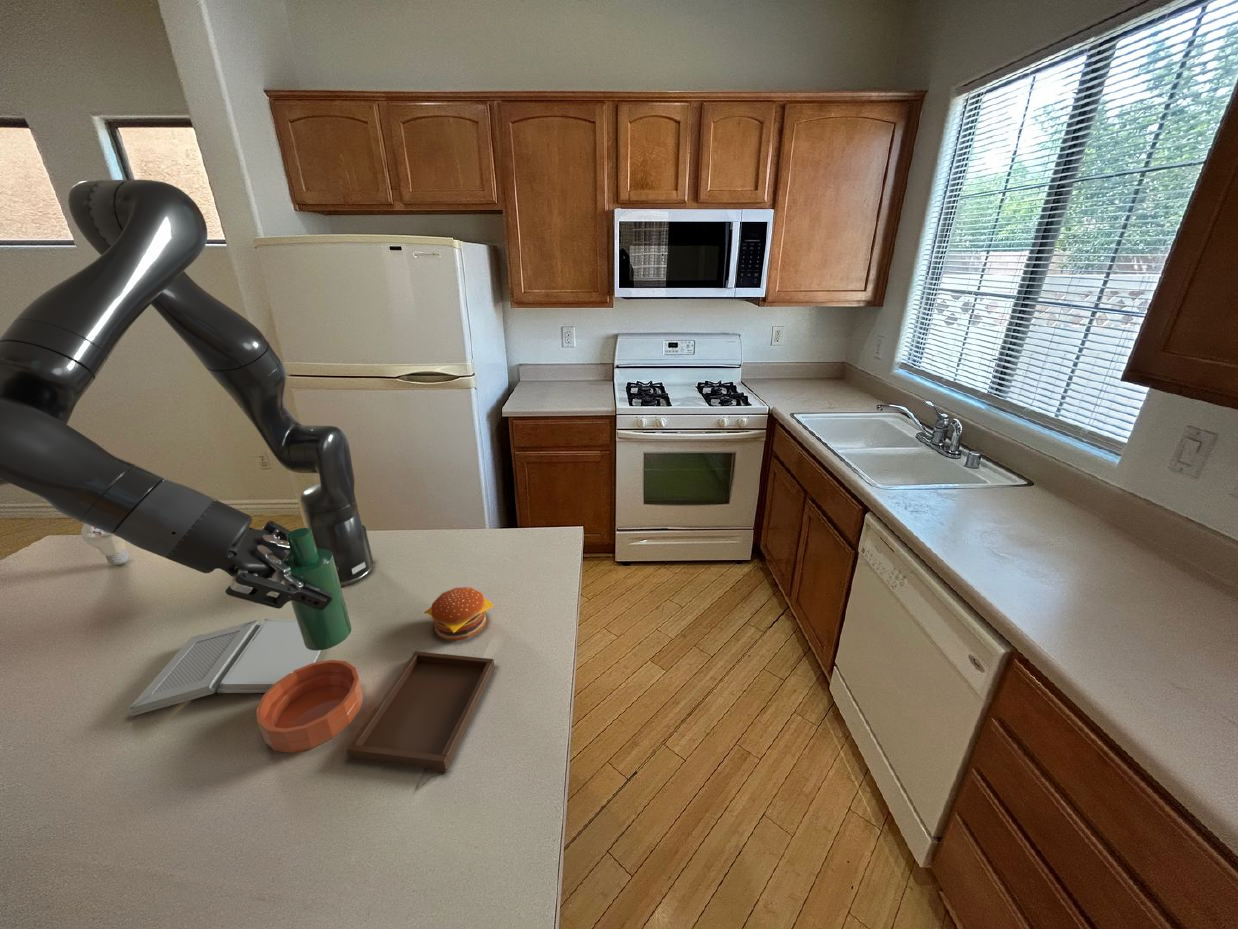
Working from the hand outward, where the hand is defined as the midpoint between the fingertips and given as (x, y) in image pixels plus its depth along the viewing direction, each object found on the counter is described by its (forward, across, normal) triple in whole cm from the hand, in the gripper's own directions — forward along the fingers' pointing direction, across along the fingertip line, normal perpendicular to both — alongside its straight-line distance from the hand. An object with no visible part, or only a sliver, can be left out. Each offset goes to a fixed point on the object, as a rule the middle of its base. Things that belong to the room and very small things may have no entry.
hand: (331, 588), depth 62 cm
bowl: (+11, +2, +20) cm, 23 cm away
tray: (+22, -4, +9) cm, 24 cm away
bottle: (+4, 0, +6) cm, 7 cm away
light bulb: (-21, +62, +53) cm, 85 cm away
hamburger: (+27, +14, +5) cm, 30 cm away
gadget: (+3, +17, +29) cm, 34 cm away
